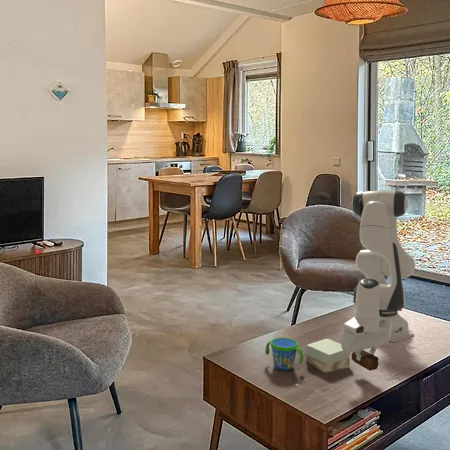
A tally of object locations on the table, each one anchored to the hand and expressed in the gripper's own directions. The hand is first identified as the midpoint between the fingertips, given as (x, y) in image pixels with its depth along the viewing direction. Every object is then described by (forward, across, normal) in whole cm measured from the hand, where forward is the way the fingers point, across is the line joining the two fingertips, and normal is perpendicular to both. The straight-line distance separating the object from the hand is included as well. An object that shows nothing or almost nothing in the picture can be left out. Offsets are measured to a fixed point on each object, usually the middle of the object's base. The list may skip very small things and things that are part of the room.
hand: (365, 358), depth 205 cm
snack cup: (+8, +22, -21) cm, 31 cm away
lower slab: (+8, +5, -16) cm, 18 cm away
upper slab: (+4, +5, -16) cm, 17 cm away
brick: (+3, 0, 0) cm, 3 cm away
